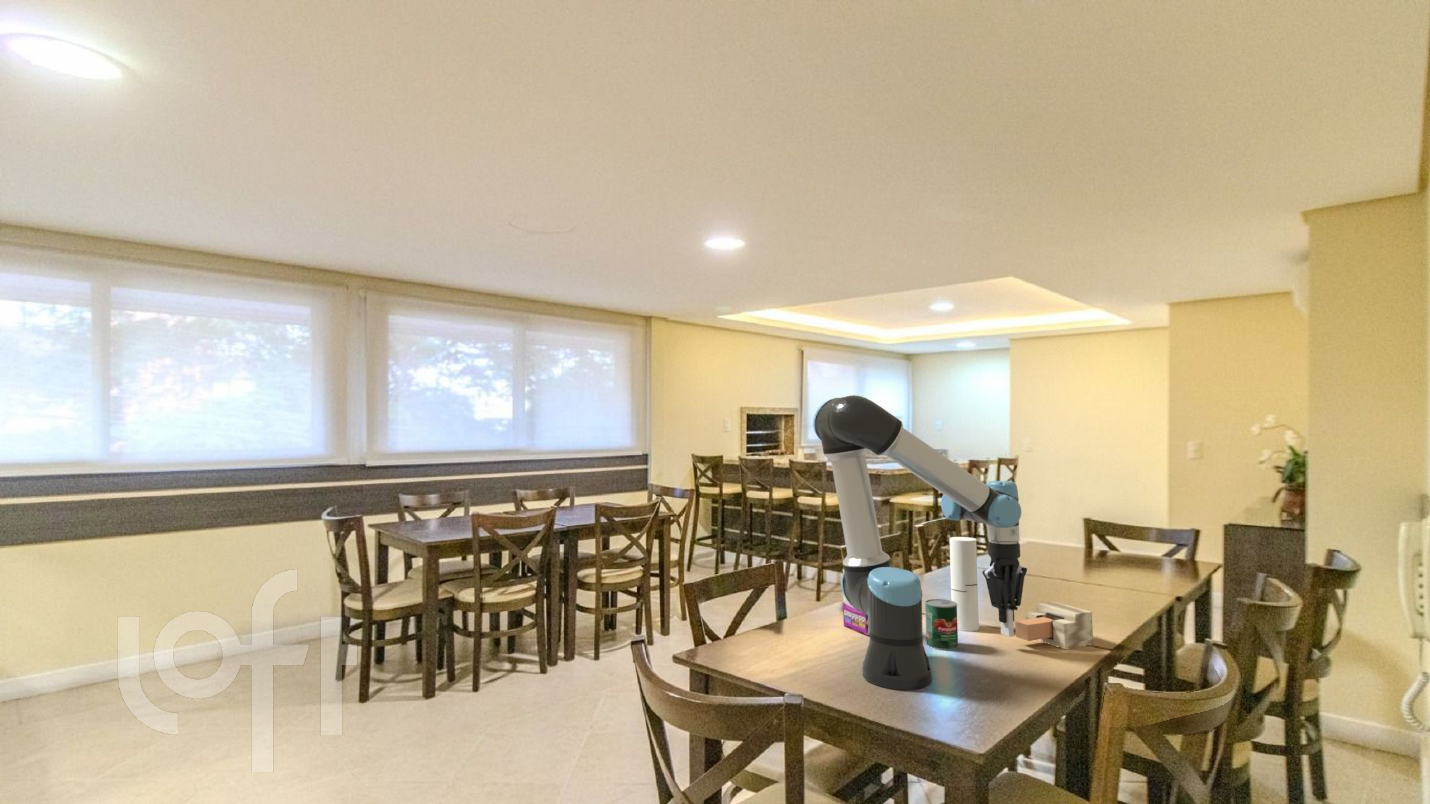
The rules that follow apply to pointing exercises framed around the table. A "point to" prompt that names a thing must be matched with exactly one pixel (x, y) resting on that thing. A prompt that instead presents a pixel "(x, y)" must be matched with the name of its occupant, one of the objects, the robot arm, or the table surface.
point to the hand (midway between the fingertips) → (1007, 634)
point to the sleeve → (1065, 624)
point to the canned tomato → (941, 624)
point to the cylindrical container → (964, 582)
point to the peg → (1034, 628)
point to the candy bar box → (855, 618)
